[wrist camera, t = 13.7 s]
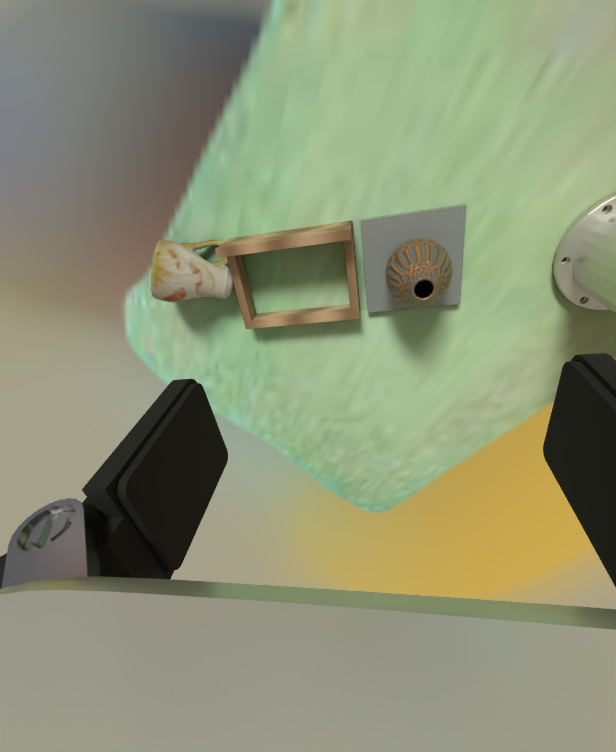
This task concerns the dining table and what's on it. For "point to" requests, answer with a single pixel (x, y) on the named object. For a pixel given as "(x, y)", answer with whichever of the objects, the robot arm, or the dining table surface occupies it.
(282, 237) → the wooden frame
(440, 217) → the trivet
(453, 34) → the dining table surface
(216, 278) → the mug
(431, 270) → the vase
